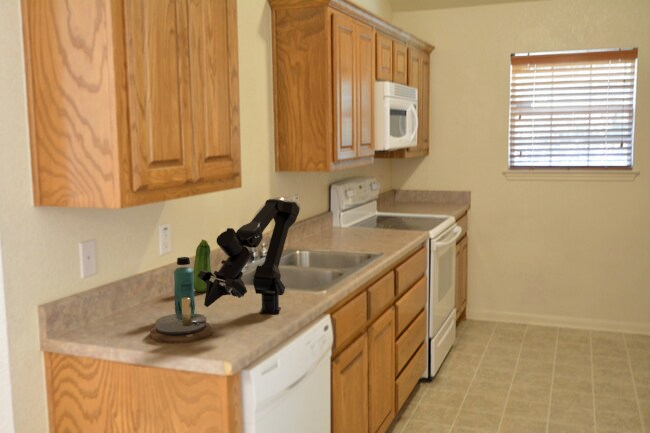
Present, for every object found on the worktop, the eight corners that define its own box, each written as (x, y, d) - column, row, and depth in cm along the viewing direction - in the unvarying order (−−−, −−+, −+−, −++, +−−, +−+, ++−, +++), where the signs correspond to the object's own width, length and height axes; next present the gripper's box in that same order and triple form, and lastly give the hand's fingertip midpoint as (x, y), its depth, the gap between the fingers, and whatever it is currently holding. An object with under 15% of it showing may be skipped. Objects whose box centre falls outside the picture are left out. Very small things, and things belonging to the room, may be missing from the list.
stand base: (144, 330, 206) (144, 324, 206) (201, 321, 215) (201, 316, 214) (159, 346, 191) (159, 340, 190) (220, 336, 199) (220, 331, 199)
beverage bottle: (171, 317, 220) (168, 257, 217) (188, 313, 224) (186, 254, 222) (182, 321, 215) (179, 260, 212) (199, 317, 220) (197, 257, 217)
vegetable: (189, 291, 255) (187, 239, 252) (206, 288, 259) (204, 237, 257) (198, 295, 249) (196, 241, 247) (215, 291, 254) (213, 239, 251)
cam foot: (150, 325, 205) (148, 292, 204) (197, 318, 212) (196, 285, 211) (163, 338, 192) (161, 303, 191) (213, 330, 199) (212, 296, 198)
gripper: (268, 283, 204) (240, 327, 199) (233, 274, 218) (205, 314, 212) (246, 262, 198) (216, 306, 192) (211, 254, 212) (182, 294, 206)
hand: (205, 306), depth 201 cm, fingers closed
